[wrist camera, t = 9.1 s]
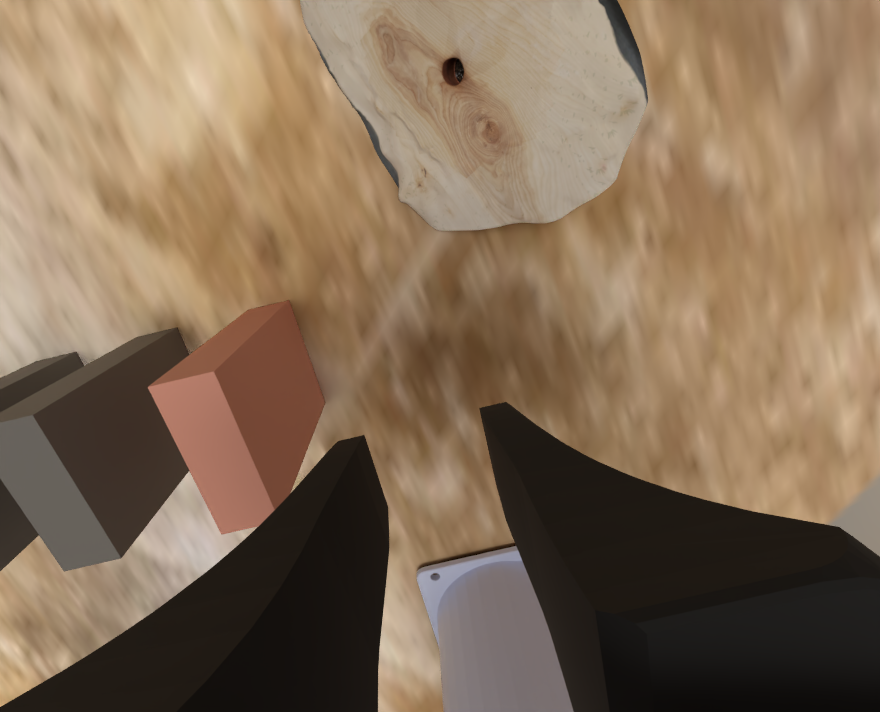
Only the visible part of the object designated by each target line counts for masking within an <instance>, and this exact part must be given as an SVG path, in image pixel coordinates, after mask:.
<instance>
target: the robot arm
mask: <svg viewBox="0 0 880 712" xmlns="http://www.w3.org/2000/svg"><path fill="white" fill-rule="evenodd" d="M479 409H480V413H481V418H482V422H483V427H484V431H485V436H486V440H487V445H488V450H489V454H490V459H491V463H492V468H493V472H494V477H495V481H496V485H497V489H498V492H499V496H500V500H501V503H502V507H503V511H504V514H505V518H506V521H507V524H508V526H509V529H510V531H511V534H512V536H513V539H514V541H515V544H516V546H513V547H509V548H504V549H500V550H496V551H491V552H487V553H483V554H478V555H474V556H469V557H465V558H461V559H456V560H452V561H447V562H443V563H439V564H434V565H430V566H425V567H422V568H420V569H419V570H418V571H417V582H418V585H419V588H420V591H421V594H422V597H423V600H424V603H425V606H426V610H427V613H428V616H429V619H430V622H431V625H432V628H433V631H434V634H435V637H436V640H437V643H438V646H439V650H440V665H441V680H442V695H443V710H444V712H880V557H879V556H878V555H877V554H875V553H874V552H873V551H871V550H870V549H868V548H867V547H866V546H865V545H863V544H862V543H860V542H859V541H858V540H857V539H855V538H854V537H853V536H851V535H850V534H848V533H847V532H845V531H844V530H842V529H841V528H840V527H836V526H830V525H825V524H819V523H813V522H808V521H802V520H797V519H791V518H786V517H780V516H774V515H769V514H763V513H758V512H753V511H748V510H744V509H740V508H736V507H732V506H728V505H724V504H719V503H715V502H711V501H707V500H703V499H700V498H696V497H693V496H689V495H686V494H682V493H679V492H676V491H673V490H670V489H667V488H664V487H661V486H658V485H655V484H652V483H649V482H646V481H643V480H641V479H638V478H635V477H633V476H630V475H628V474H625V473H623V472H620V471H618V470H616V469H614V468H611V467H609V466H607V465H605V464H602V463H600V462H598V461H596V460H594V459H592V458H590V457H588V456H586V455H584V454H582V453H580V452H578V451H577V450H575V449H573V448H571V447H569V446H568V445H566V444H564V443H563V442H561V441H560V440H558V439H557V438H555V437H554V436H552V435H550V434H549V433H547V432H546V431H544V430H543V429H541V428H540V427H539V426H537V425H536V424H534V423H533V422H532V421H530V420H529V419H528V418H526V417H525V416H524V415H523V414H521V413H520V412H519V411H517V410H516V409H515V408H514V407H512V406H511V405H510V404H508V403H507V402H504V403H499V404H495V405H491V406H487V407H482V408H479ZM388 556H389V520H388V506H387V502H386V499H385V496H384V493H383V490H382V487H381V484H380V481H379V478H378V475H377V472H376V469H375V466H374V463H373V460H372V457H371V454H370V451H369V448H368V445H367V442H366V439H365V436H364V435H363V436H358V437H354V438H350V439H345V440H341V441H338V442H337V443H336V444H335V445H334V446H333V447H332V448H331V449H330V450H329V451H328V452H327V453H326V454H325V455H324V457H323V458H322V459H321V460H320V461H319V462H318V463H317V465H316V466H315V467H314V468H313V469H312V470H311V471H310V473H309V474H308V475H307V476H306V477H305V478H304V479H303V480H302V481H301V483H300V484H299V485H298V486H297V487H296V488H295V489H294V490H293V492H292V493H291V494H290V495H289V496H288V497H287V498H286V499H285V500H284V501H283V502H282V503H281V504H280V505H279V506H278V507H277V508H276V509H275V510H274V511H273V512H272V513H271V514H270V515H269V516H268V517H267V518H266V519H265V520H264V521H263V522H262V523H261V524H260V525H259V527H257V528H256V529H255V530H254V531H253V532H252V533H251V534H250V535H249V536H248V537H247V538H246V539H245V540H243V541H242V542H241V543H240V544H239V545H238V546H237V547H236V548H234V549H233V550H232V551H231V552H230V553H229V554H228V555H226V556H225V557H224V558H223V559H222V560H221V561H219V562H218V563H217V564H216V565H215V566H213V567H212V568H211V569H210V570H208V571H207V572H206V573H205V574H203V575H202V576H201V577H199V578H198V579H197V580H195V581H194V582H193V583H191V584H190V585H189V586H187V587H186V588H185V589H184V590H182V591H181V592H180V593H178V594H177V595H176V596H174V597H173V598H172V599H170V600H169V601H168V602H166V603H165V604H164V605H162V606H161V607H160V608H158V609H157V610H155V611H154V612H153V613H151V614H150V615H148V616H147V617H145V618H144V619H142V620H141V621H140V622H138V623H137V624H135V625H134V626H132V627H131V628H129V629H128V630H126V631H125V632H123V633H122V634H120V635H119V636H117V637H116V638H114V639H113V640H111V641H110V642H108V643H106V644H105V645H103V646H102V647H100V648H99V649H97V650H96V651H94V652H93V653H91V654H89V655H88V656H86V657H85V658H83V659H81V660H80V661H78V662H76V663H75V664H73V665H72V666H70V667H68V668H67V669H65V670H63V671H62V672H60V673H58V674H56V675H55V676H53V677H51V678H50V679H48V680H46V681H44V682H43V683H41V684H39V685H38V686H36V687H34V688H32V689H31V690H29V691H27V692H26V693H24V694H22V695H20V696H19V697H17V698H15V699H13V700H12V701H10V702H8V703H7V704H5V705H3V706H1V707H0V712H378V663H379V646H380V636H381V627H382V617H383V607H384V597H385V587H386V577H387V567H388ZM433 573H438V574H436V575H433Z"/></svg>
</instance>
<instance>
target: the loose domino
mask: <svg viewBox="0 0 880 712" xmlns="http://www.w3.org/2000/svg"><path fill="white" fill-rule="evenodd" d="M148 389H149V391H150V393H151V395H152V397H153V399H154V401H155V403H156V405H157V407H158V409H159V411H160V413H161V415H162V417H163V419H164V421H165V423H166V425H167V427H168V429H169V431H170V433H171V435H172V437H173V439H174V441H175V443H176V445H177V447H178V449H179V451H180V453H181V455H182V457H183V459H184V461H185V463H186V465H187V467H188V469H189V471H190V473H191V475H192V477H193V479H194V481H195V483H196V485H197V487H198V489H199V491H200V493H201V495H202V497H203V499H204V501H205V503H206V504H207V506H208V508H209V510H210V512H211V514H212V516H213V518H214V520H215V522H216V524H217V526H218V528H219V530H220V532H221V534H226V533H230V532H234V531H239V530H243V529H248V528H252V527H256V526H259V525H260V524H261V523H262V522H263V521H264V520H265V519H266V518H267V517H268V516H269V515H270V514H271V513H272V512H273V511H274V510H275V509H276V508H277V507H278V506H279V505H280V504H281V503H282V502H283V501H284V500H285V499H286V498H287V497H288V496H289V495H290V493H291V490H292V488H293V485H294V482H295V480H296V477H297V475H298V472H299V469H300V467H301V464H302V462H303V459H304V457H305V454H306V451H307V449H308V446H309V444H310V441H311V438H312V436H313V433H314V431H315V428H316V425H317V423H318V420H319V418H320V415H321V413H322V410H323V407H324V405H325V401H324V398H323V395H322V392H321V390H320V387H319V384H318V381H317V378H316V375H315V372H314V370H313V367H312V364H311V361H310V358H309V355H308V353H307V350H306V347H305V344H304V341H303V338H302V336H301V333H300V330H299V327H298V324H297V321H296V318H295V316H294V313H293V310H292V307H291V304H290V301H289V300H288V301H284V302H279V303H275V304H271V305H267V306H263V307H258V308H254V309H250V310H247V311H246V312H245V313H243V314H242V315H241V316H240V317H238V318H237V319H236V320H234V321H233V322H232V323H230V324H229V325H228V326H227V327H225V328H224V329H223V330H221V331H220V332H219V333H217V334H216V335H215V336H213V337H212V338H211V339H210V340H208V341H207V342H206V343H204V344H203V345H202V346H200V347H199V348H198V349H196V350H195V351H194V352H193V353H191V354H190V355H189V356H187V357H186V358H185V359H183V360H182V361H181V362H180V363H178V364H177V365H176V366H174V367H173V368H172V369H170V370H169V371H168V372H166V373H165V374H164V375H163V376H161V377H160V378H159V379H157V380H156V381H155V382H153V383H152V384H151V385H150V386H148Z"/></svg>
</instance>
